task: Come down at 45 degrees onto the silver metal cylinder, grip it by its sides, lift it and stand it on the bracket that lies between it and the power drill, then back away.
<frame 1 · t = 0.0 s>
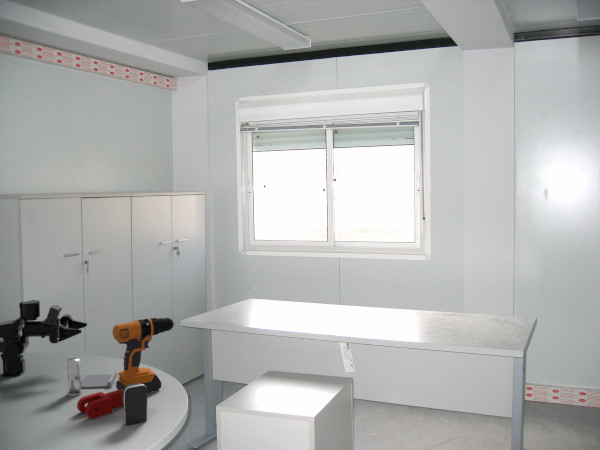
hand: (84, 327, 220), 17 cm above the table, tool horizontal, fingers open, 9 cm apart
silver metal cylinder: (74, 394, 199), on the table
bracket: (96, 382, 211), on the table
power drill: (145, 390, 204), on the table
mechanical linkage: (106, 410, 187), on the table
battery charger: (134, 422, 179), on the table
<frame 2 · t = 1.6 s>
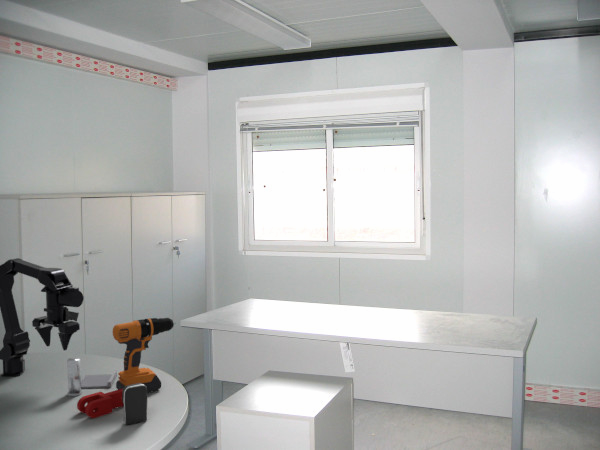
hand: (56, 348, 210), 12 cm above the table, tool pointing down, fingers open, 9 cm apart
nothing on the table moved.
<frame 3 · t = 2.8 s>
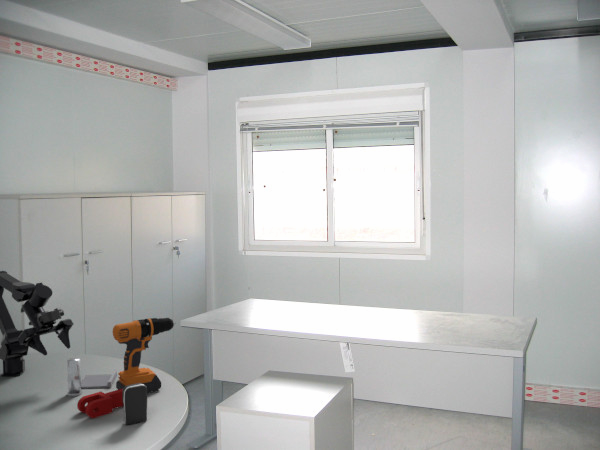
hand: (58, 351, 202), 13 cm above the table, tool tilted 45°, fingers open, 9 cm apart
nothing on the table moved.
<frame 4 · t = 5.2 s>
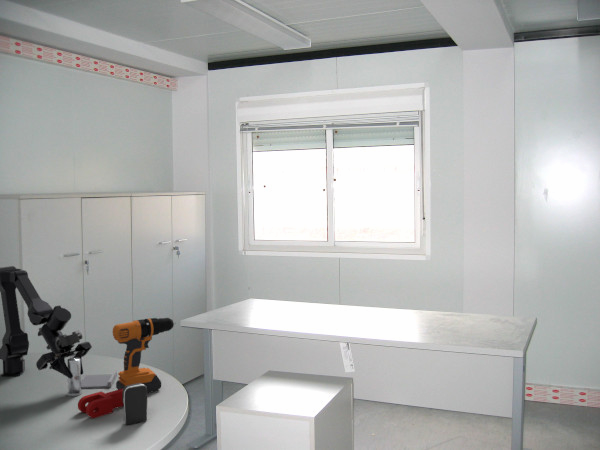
hand: (77, 375, 198), 7 cm above the table, tool tilted 45°, fingers closed on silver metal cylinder, 4 cm apart
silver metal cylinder: (74, 394, 199), on the table, touching gripper
everything else where it was.
when the fingers open (8 cm above the table, at t = 9.0 s): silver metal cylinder stays where it is, resting on bracket.
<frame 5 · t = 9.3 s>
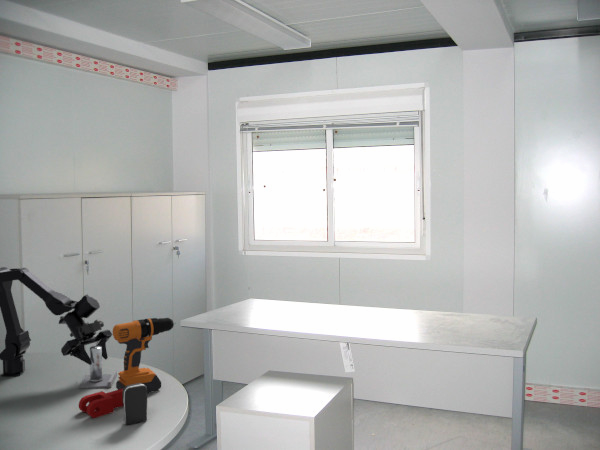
hand: (99, 361, 209), 8 cm above the table, tool tilted 45°, fingers open, 7 cm apart
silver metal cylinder: (96, 380, 211), point 1 cm above the table, touching bracket
everything else where it was.
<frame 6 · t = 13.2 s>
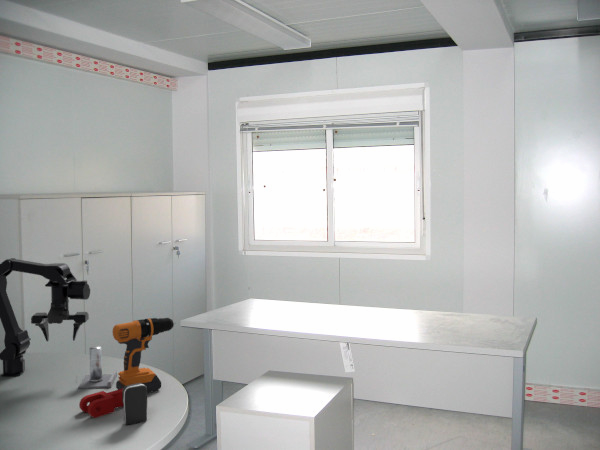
hand: (60, 340, 216), 13 cm above the table, tool pointing down, fingers open, 9 cm apart
nothing on the table moved.
at the end: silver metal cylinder inside the target area on the bracket (0.2 cm from its centre), point 0.6 cm above the bracket's base; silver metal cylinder tilted 0°; the gripper is holding nothing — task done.
